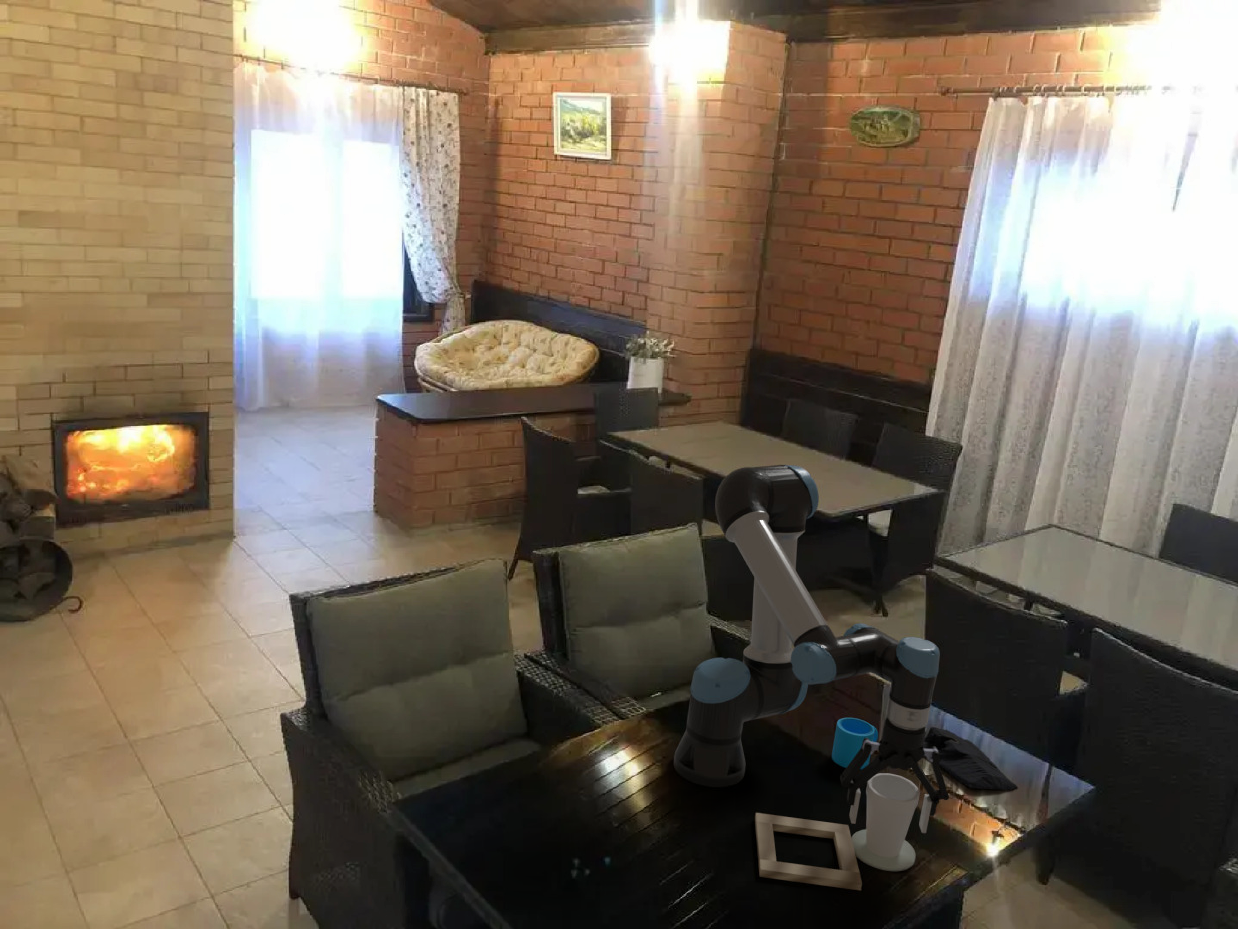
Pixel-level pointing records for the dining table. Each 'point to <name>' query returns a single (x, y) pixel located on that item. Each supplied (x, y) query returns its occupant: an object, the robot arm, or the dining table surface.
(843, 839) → the birch pocket board
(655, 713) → the dining table surface
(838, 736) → the mug
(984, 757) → the black fabric pouch
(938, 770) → the robot arm
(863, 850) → the pale grey-green round part
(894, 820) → the foam cup
